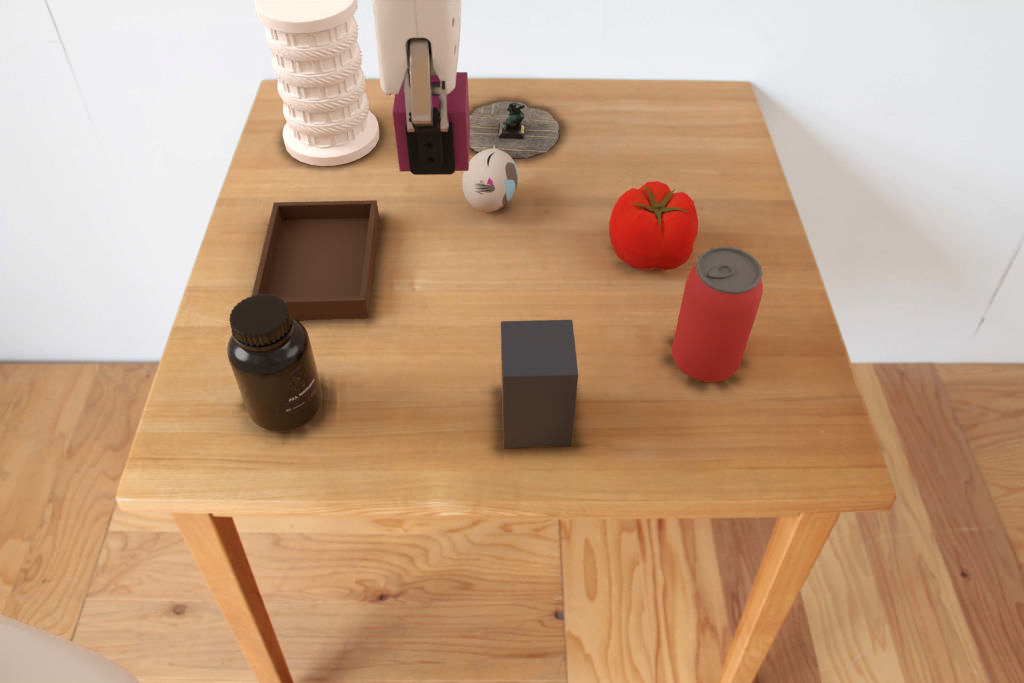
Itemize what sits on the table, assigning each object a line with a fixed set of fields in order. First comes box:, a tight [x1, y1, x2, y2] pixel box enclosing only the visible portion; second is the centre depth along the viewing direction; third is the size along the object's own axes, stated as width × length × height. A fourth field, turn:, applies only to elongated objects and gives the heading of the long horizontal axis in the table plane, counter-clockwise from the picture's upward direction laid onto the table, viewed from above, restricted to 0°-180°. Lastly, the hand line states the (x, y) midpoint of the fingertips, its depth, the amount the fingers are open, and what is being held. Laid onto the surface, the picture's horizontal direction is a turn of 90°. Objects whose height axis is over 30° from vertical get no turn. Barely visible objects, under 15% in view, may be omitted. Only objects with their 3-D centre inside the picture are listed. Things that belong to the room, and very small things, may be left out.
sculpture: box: [469, 100, 560, 159], centre depth 106 cm, size 12×9×8 cm
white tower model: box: [253, 0, 380, 167], centre depth 98 cm, size 12×12×18 cm
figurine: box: [461, 145, 519, 213], centre depth 94 cm, size 8×6×7 cm
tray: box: [251, 199, 380, 321], centre depth 89 cm, size 15×11×3 cm
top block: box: [391, 71, 471, 172], centre depth 61 cm, size 5×5×5 cm
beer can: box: [671, 246, 764, 383], centre depth 77 cm, size 7×7×12 cm
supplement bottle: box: [226, 294, 324, 433], centre depth 73 cm, size 7×7×12 cm
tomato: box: [608, 180, 699, 271], centre depth 88 cm, size 9×9×8 cm
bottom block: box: [500, 319, 579, 449], centre depth 73 cm, size 6×6×10 cm
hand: (434, 145), depth 63 cm, fingers closed on top block, 5 cm apart
